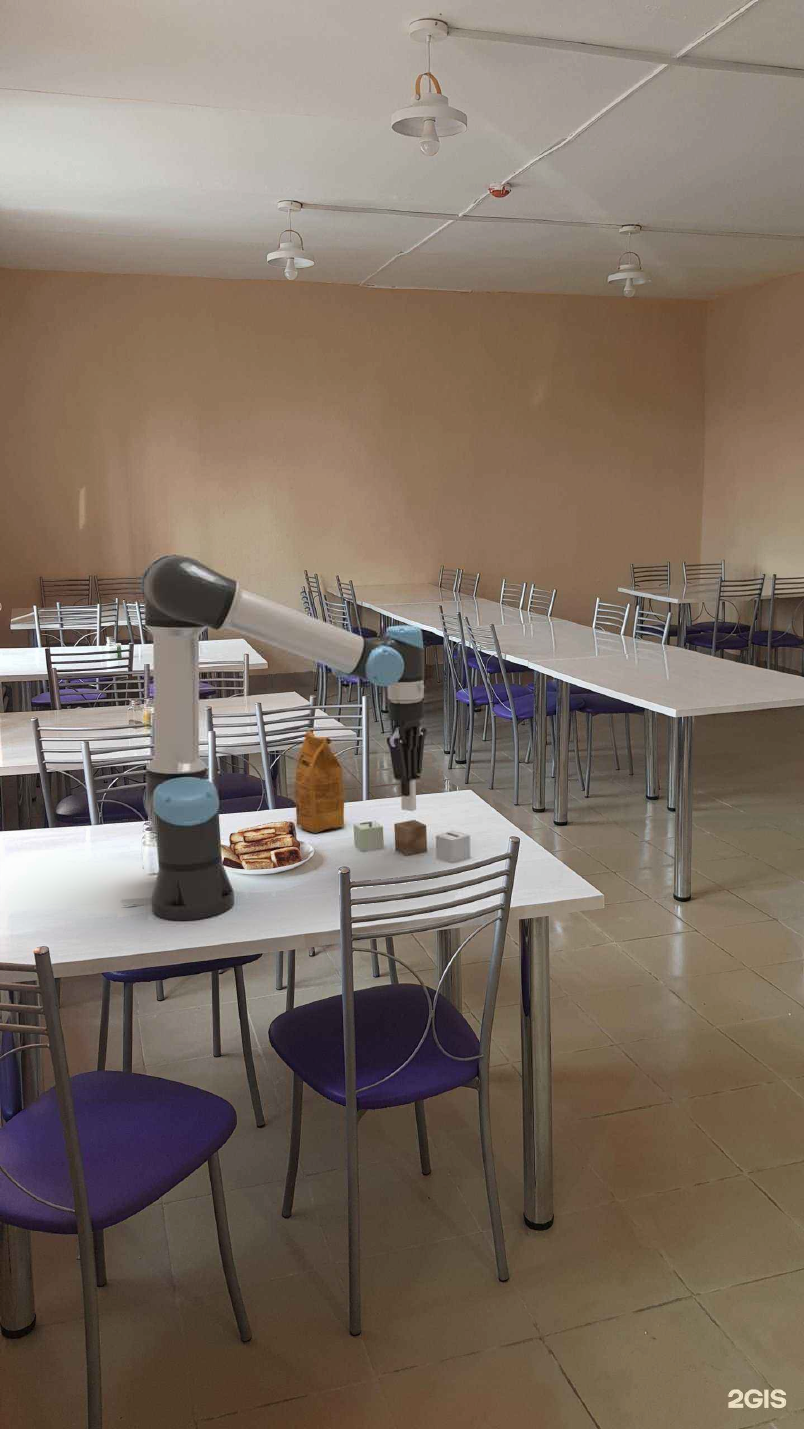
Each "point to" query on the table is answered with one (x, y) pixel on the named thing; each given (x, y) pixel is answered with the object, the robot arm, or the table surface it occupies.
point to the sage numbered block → (368, 836)
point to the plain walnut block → (410, 838)
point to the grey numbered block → (453, 846)
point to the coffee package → (318, 786)
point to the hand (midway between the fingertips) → (408, 809)
